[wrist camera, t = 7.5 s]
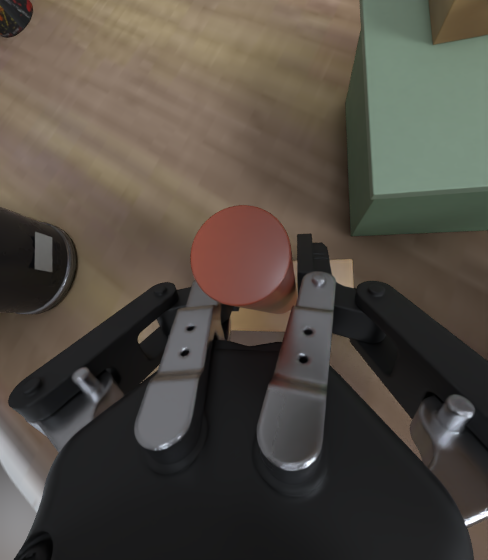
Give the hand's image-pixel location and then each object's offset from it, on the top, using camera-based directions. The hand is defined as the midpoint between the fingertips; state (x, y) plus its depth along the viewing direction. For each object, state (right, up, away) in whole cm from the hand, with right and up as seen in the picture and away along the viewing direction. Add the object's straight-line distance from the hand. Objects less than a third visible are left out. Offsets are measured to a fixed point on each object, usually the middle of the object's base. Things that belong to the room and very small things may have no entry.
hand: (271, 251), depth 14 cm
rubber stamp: (+2, -3, +7) cm, 8 cm away
